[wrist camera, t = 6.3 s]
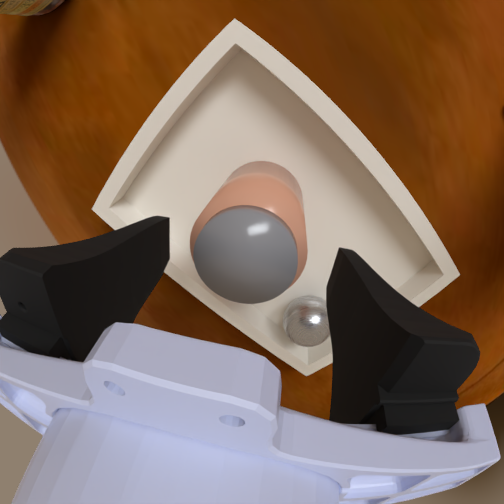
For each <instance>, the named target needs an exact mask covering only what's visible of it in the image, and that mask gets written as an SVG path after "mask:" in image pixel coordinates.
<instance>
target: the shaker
mask: <svg viewBox="0 0 504 504" xmlns="http://www.w3.org/2000/svg"><path fill="white" fill-rule="evenodd" d="M190 252H191V256H192V259H193V262H194V264H195V268H196V270H197V273H198V275H199V276H200V278H201V280H202V281H203V282H204V283H205V285H206V286H207V287H208V288H209V289H211V290H212V291H213V292H214V293H216V294H217V295H219V296H221V297H223V298H225V299H227V300H230V301H233V302H237V303H243V304H257V303H263V302H266V301H269V300H272V299H274V298H276V297H278V296H279V295H281V294H282V293H283V292H284V291H285V290H287V289H288V288H289V287H291V286H292V285H293V284H294V283H295V282H296V281H297V280H298V278H299V277H300V276H301V274H302V272H303V270H304V268H305V265H306V261H307V254H308V248H307V236H306V225H305V215H304V205H303V196H302V191H301V188H300V185H299V183H298V181H297V180H296V178H295V177H294V176H293V175H292V174H291V173H290V172H289V171H288V170H287V169H286V168H284V167H282V166H280V165H278V164H276V163H273V162H268V161H254V162H250V163H246V164H244V165H242V166H240V167H238V168H237V169H236V170H235V171H233V172H232V173H231V175H230V176H229V177H228V178H227V180H226V181H225V182H224V183H223V185H222V186H221V187H220V189H219V190H218V191H217V193H216V194H215V195H214V196H213V198H212V199H211V200H210V202H209V203H208V204H207V206H206V207H205V208H204V210H203V211H202V212H201V214H200V215H199V217H198V218H197V220H196V221H195V223H194V225H193V228H192V231H191V235H190Z"/></svg>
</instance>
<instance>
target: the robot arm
mask: <svg viewBox="0 0 504 504" xmlns="http://www.w3.org/2000/svg"><path fill="white" fill-rule="evenodd" d="M169 259H170V217H163V216H152V217H149V218H146V219H143V220H141V221H138V222H135V223H133V224H130V225H128V226H125V227H123V228H120V229H117V230H114V231H111V232H109V233H106V234H103V235H100V236H97V237H94V238H90V239H86V240H82V241H78V242H73V243H68V244H63V245H56V246H48V247H37V248H12V249H11V250H9V251H8V252H7V253H6V254H4V255H3V256H2V257H1V258H0V297H1V299H2V302H3V304H4V306H5V309H6V311H7V313H6V314H5V315H4V316H3V317H2V316H1V315H0V403H1V404H2V405H3V406H4V407H6V408H7V409H8V410H9V411H11V412H12V413H13V414H14V415H16V416H17V417H18V418H20V419H21V420H22V421H24V422H25V423H26V424H28V425H29V426H30V427H32V428H33V429H35V430H36V431H37V432H39V433H40V434H42V435H43V437H42V439H41V441H40V443H39V445H38V447H37V449H36V451H35V453H34V455H33V457H32V459H31V461H30V463H29V465H28V467H27V469H26V471H25V474H24V476H23V478H22V480H21V482H20V485H19V487H18V489H17V492H16V494H15V496H14V499H13V501H12V503H11V504H393V503H397V502H402V501H406V500H410V499H414V498H418V497H422V496H426V495H430V494H434V493H437V492H441V491H444V490H448V489H451V488H455V487H457V486H458V485H460V484H462V483H464V482H466V481H467V480H469V479H471V478H472V477H474V476H476V475H477V474H479V473H481V472H482V471H484V470H485V469H487V468H488V467H489V466H491V465H493V464H494V463H496V462H497V461H499V459H500V453H499V449H498V446H497V442H496V438H495V435H494V432H493V428H492V425H491V422H490V419H489V416H488V413H487V410H486V407H485V404H476V405H468V406H463V407H461V408H459V409H457V410H456V407H455V403H454V402H456V401H457V400H458V398H459V397H458V394H457V391H456V390H457V389H458V388H459V387H460V386H461V385H462V383H463V382H464V381H465V380H466V379H467V378H468V377H469V375H470V374H471V373H472V372H473V370H474V369H475V367H476V365H477V363H478V361H479V358H480V351H479V348H478V346H477V344H476V342H475V340H474V338H473V336H472V334H470V333H468V332H465V331H463V330H461V329H458V328H456V327H454V326H451V325H449V324H447V323H445V322H443V321H441V320H439V319H437V318H436V317H434V316H432V315H430V314H429V313H427V312H425V311H424V310H422V309H421V308H419V307H418V306H416V305H415V304H413V303H412V302H410V301H409V300H408V299H406V298H405V297H404V296H402V295H401V294H400V293H399V292H397V291H396V290H395V289H394V288H393V287H391V286H390V285H389V284H388V283H387V282H386V281H385V280H384V279H383V278H382V277H381V276H380V275H379V274H377V273H376V272H375V271H374V270H373V269H372V268H371V267H370V266H369V265H368V264H367V263H366V262H365V261H364V259H362V258H361V257H360V256H359V255H358V254H357V253H356V252H355V251H354V250H351V249H346V248H340V247H339V249H338V252H337V255H336V258H335V262H334V265H333V268H332V271H331V274H330V277H329V280H328V283H327V286H326V308H327V315H328V322H329V329H330V336H331V344H332V355H333V376H332V397H331V409H330V419H329V420H326V419H322V418H318V417H315V416H311V415H308V414H304V413H301V412H298V411H294V410H291V409H288V408H285V407H282V406H280V398H281V386H282V384H281V375H280V371H279V370H278V369H277V368H276V367H275V366H274V365H273V364H272V363H271V362H270V361H269V360H268V359H266V358H265V357H264V356H261V355H258V354H256V353H253V352H250V351H247V350H245V349H242V348H238V347H232V346H227V345H222V344H217V343H213V342H208V341H203V340H199V339H195V338H190V337H186V336H182V335H178V334H174V333H170V332H166V331H162V330H158V329H154V328H150V327H147V326H143V325H139V324H133V322H134V319H135V317H136V316H137V314H138V312H139V310H140V309H141V307H142V306H143V304H144V303H145V301H146V300H147V298H148V296H149V295H150V293H151V292H152V290H153V289H154V287H155V286H156V284H157V283H158V281H159V280H160V278H161V276H162V275H163V272H164V270H165V268H166V266H167V264H168V262H169Z"/></svg>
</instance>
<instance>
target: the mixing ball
mask: <svg viewBox="0 0 504 504" xmlns="http://www.w3.org/2000/svg"><path fill="white" fill-rule="evenodd" d="M283 327H284V331H285V333H286V335H287V336H288V338H289V339H290V340H291V341H292V342H294V343H295V344H297V345H299V346H303V347H314V346H317V345H320V344H322V343H323V342H325V341H326V340H327V339H328V338H329V337H330V329H329V322H328V315H327V308H326V301H325V300H324V299H322V298H320V297H318V296H314V295H305V296H301V297H299V298H297V299H295V300H293V301H292V302H291V303H290V304H289V305H288V307H287V308H286V310H285V312H284V316H283Z"/></svg>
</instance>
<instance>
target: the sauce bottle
mask: <svg viewBox="0 0 504 504" xmlns="http://www.w3.org/2000/svg"><path fill="white" fill-rule="evenodd" d="M64 1H65V0H0V13H1V14H12V15H22V16H29V15H42V14H47V13H50V12H51V11H53V10H55V9H56V8H57V7H58V6H59V5H61V4H62V3H63V2H64Z"/></svg>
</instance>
